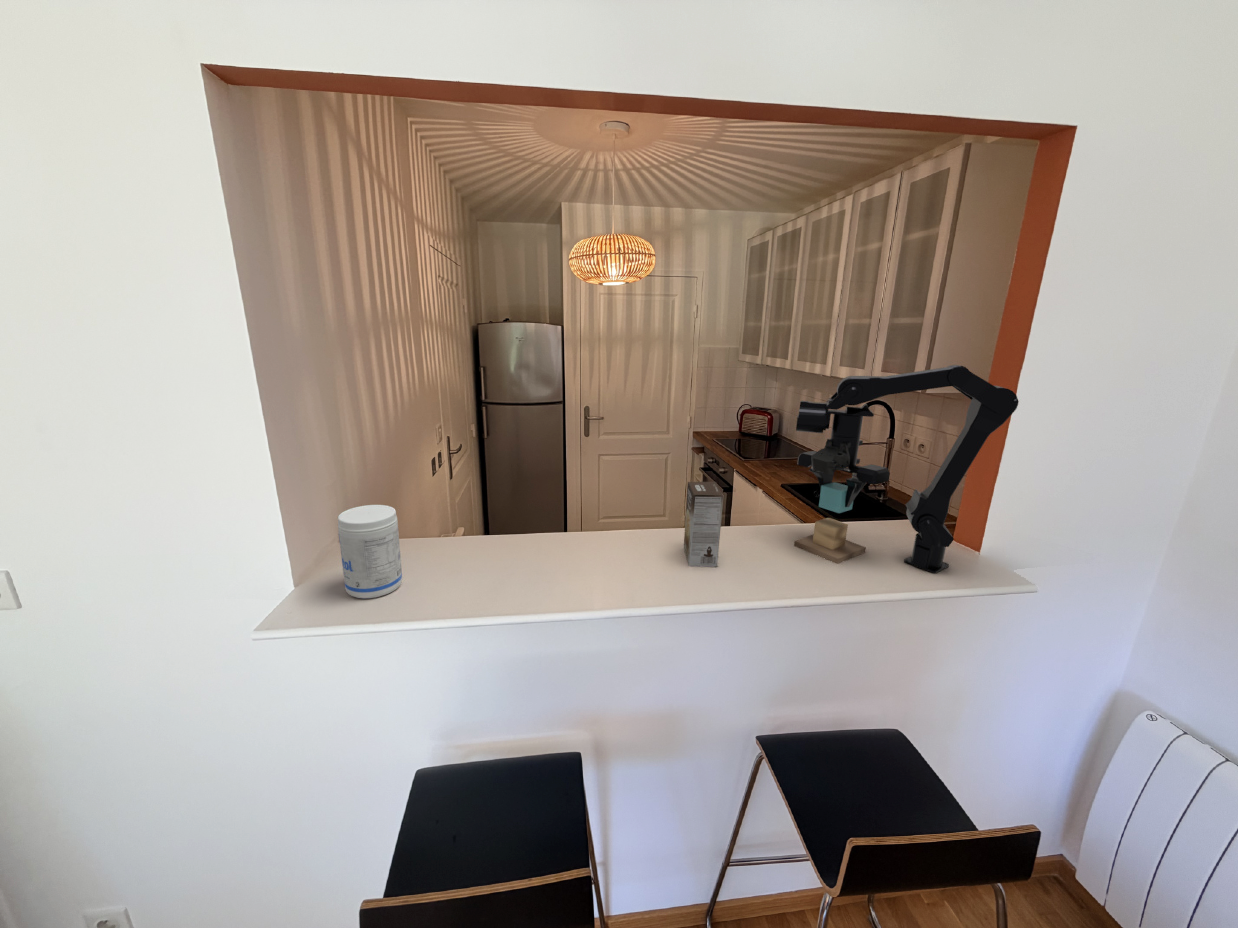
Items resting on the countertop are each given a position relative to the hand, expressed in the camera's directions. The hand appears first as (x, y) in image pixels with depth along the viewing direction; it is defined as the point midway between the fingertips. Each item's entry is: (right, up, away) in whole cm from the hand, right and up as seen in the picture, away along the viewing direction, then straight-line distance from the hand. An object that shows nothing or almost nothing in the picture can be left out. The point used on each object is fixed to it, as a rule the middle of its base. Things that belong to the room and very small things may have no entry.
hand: (835, 503), depth 110 cm
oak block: (0, -9, +3) cm, 10 cm away
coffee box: (-31, -12, -3) cm, 33 cm away
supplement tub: (-94, -14, -19) cm, 97 cm away
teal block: (0, -1, 0) cm, 1 cm away
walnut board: (0, -11, +3) cm, 12 cm away
